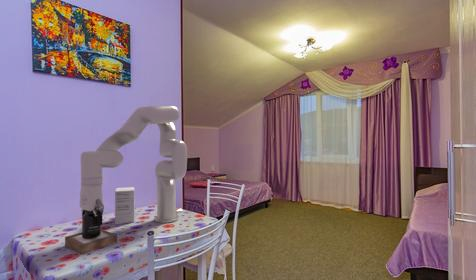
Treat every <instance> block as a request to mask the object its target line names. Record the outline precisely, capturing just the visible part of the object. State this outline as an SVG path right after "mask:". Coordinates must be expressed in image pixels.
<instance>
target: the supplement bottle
mask: <svg viewBox="0 0 476 280" xmlns="http://www.w3.org/2000/svg"><path fill="white" fill-rule="evenodd" d="M97 211H98V210H97ZM97 211H96V212H97ZM94 216H95V215H94V212H93V210H92V211H87V210H85V214H84V215H83V216H82V215H81V232H82V237H83V238H84V239H92V238H96V237H98V236H100V234H101V229H102V225H99V226H94Z"/></svg>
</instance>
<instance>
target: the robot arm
mask: <svg viewBox="0 0 476 280" xmlns="http://www.w3.org/2000/svg"><path fill="white" fill-rule="evenodd" d="M180 116H181V115H180V110H179V109H178V108H177V107H176V106H174V105H150V106H141V107H138V108H137V109H135V110H134V111H133V113H132V114H130V117H128V118H127V120H126V122H125V123H124V124H123V125H122V126H121V127H120V128H119V129H117V130H116V131H115V132H114V133H113V134H111V135H109V136H108V137H107V138H106V139H104V141H103V142H101V144H100V145H99V147H98V148H96V150H94V151H93V150H91V151H90V150H89V151H83V152H81V153H80V191H79V208H80V209H81V217H82V216H83V215H84V214H85V210H87V211H92V210H93V212H94V215H95V216H94V226H99V225H101V226H102V225H103V215H104V210H105V205H104V203H103V201H104V200H103V198H104V197H103V189H102V184H103V169H104V168H109V169H112V168H116V167H117V168H118V167H119V166H121V164H123V161H124V156H123V154H122V153H121V152H120V151H118V150H120V149H121V148H122V147H124V146H126V145H128V144H131V143H133V142H135V141H137V139H138V138H140V137H139V136H140V135H141V134H142V133H143V131H144V130H145V129H146V128H147V126H148V125H154V124H155V125H157V126H158V130H159V146H158V148H159V150H158V151H159V155H160V156H161V157H162V158H168V159H166V160H165V159H163V160H160V161H159V162H158V163H156V165H155V168H154V173H155V176H156V200H157V201H156V202H157V203H156V207H157V209H156V210H157V211H156V216H155V217H154V218H153V220H154V222H155V223H158V224H160V223H162V224H165V223H169V224H170V223H174V222H176V221H178V220H179V218H180V217H179V215H178V214H180V213H183V209H182V208H179V209H177V208H176V206H177V205H176V204H177V203H176V201H177V200H176V199H177V198H176V196H177V195H176V189H177V187H176V186H177V185H176V180H179V181H180V180H182V179H183V178H185V176H186V173H187V169H188V166H187V165H188V147H187V144H186V143H185V142H184V141H183V140H181V139H177V128H176V126H175V124H174V123H175V122H177V121H178V120H179V119H180ZM169 159H171V160H169ZM97 210H98V211H97ZM96 211H97V212H96Z"/></svg>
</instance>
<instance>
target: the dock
mask: <svg viewBox="0 0 476 280" xmlns="http://www.w3.org/2000/svg"><path fill="white" fill-rule="evenodd" d="M117 243H118V233H112V232H110V231H108V230H106V229H102V228H101V234H100V236H98V237H96V238H92V239H84V238H83V237H82V231H81V232H78V233H74V234H71V235H67V236H64V246H65V247H67V248H68V249H70V250H72V251H73V252H75V253H77V254H79V255H81V256H82V255H85V254H88V253H91V252H93V251H97V250H99V249H102V248H106V247H108V246H111V245H114V244H117Z"/></svg>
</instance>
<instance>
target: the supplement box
mask: <svg viewBox="0 0 476 280" xmlns="http://www.w3.org/2000/svg"><path fill="white" fill-rule="evenodd" d="M135 193H136V192H135V187H134V186H130V187H129V186H128V187H127V186H126V187H116V188H115V191H114V220H115V221H114V224H115V225H122V224H129V223H130V224H131V223H135V217H136V216H135V213H136V212H135V211H136V210H135V207H136V205H135V202H136V201H135V199H136V198H135V195H136V194H135Z"/></svg>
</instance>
